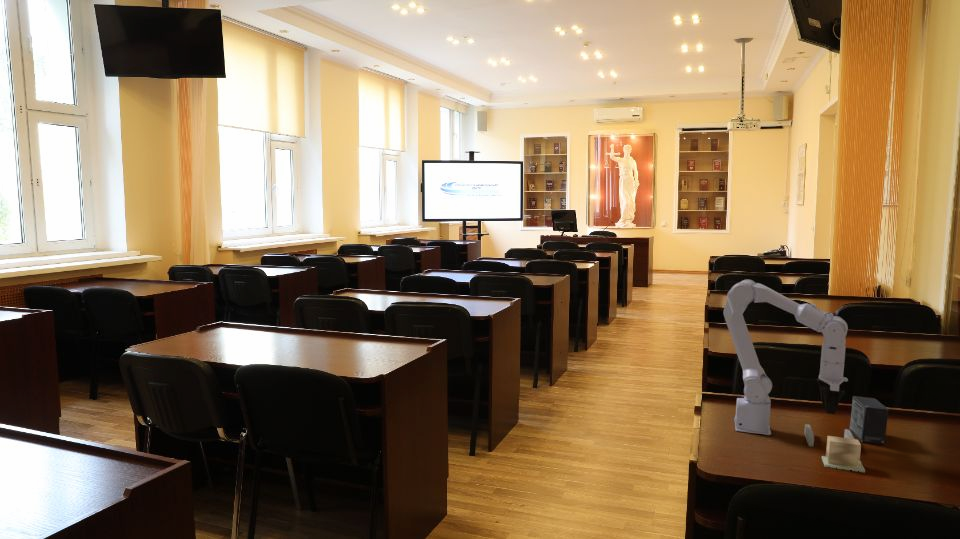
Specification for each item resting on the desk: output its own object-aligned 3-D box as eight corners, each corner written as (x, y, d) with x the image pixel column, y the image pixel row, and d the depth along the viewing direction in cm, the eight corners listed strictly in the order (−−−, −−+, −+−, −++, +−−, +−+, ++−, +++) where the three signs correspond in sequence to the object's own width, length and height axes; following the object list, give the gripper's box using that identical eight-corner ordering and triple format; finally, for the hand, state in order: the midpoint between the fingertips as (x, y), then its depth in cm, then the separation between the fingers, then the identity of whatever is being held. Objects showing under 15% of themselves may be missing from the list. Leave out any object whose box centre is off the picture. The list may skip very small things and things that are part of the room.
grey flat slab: (808, 445, 182) (809, 436, 182) (804, 433, 192) (805, 424, 191) (855, 452, 179) (856, 442, 178) (848, 439, 188) (849, 429, 188)
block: (828, 463, 169) (829, 441, 168) (825, 457, 173) (827, 435, 172) (859, 467, 167) (861, 445, 166) (855, 461, 171) (857, 439, 170)
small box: (886, 445, 184) (890, 408, 183) (861, 443, 185) (864, 406, 184) (872, 431, 194) (875, 397, 193) (848, 429, 196) (851, 395, 194)
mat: (824, 466, 169) (825, 464, 169) (821, 458, 174) (821, 455, 174) (864, 472, 166) (865, 470, 166) (860, 463, 171) (860, 461, 171)
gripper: (853, 369, 174) (849, 419, 175) (844, 356, 187) (840, 403, 189) (823, 366, 176) (819, 415, 178) (816, 354, 189) (812, 399, 191)
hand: (828, 409), depth 183 cm, fingers open, 7 cm apart
